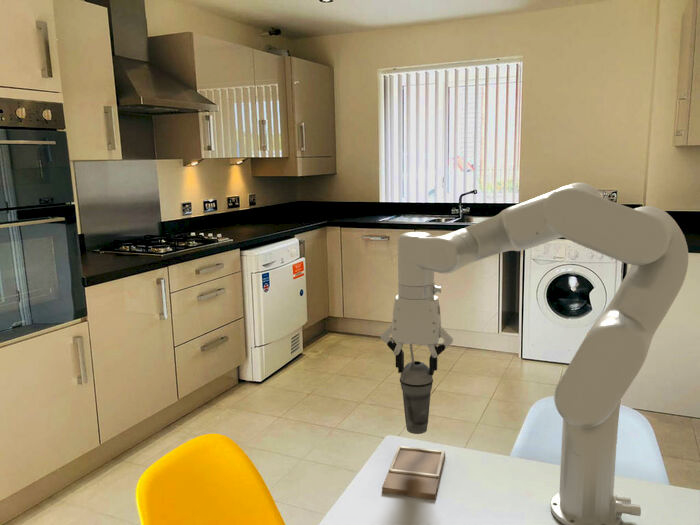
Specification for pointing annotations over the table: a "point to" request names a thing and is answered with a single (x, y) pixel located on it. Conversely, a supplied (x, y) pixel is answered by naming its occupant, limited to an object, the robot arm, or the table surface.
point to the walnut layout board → (415, 472)
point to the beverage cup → (416, 395)
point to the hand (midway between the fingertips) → (416, 371)
